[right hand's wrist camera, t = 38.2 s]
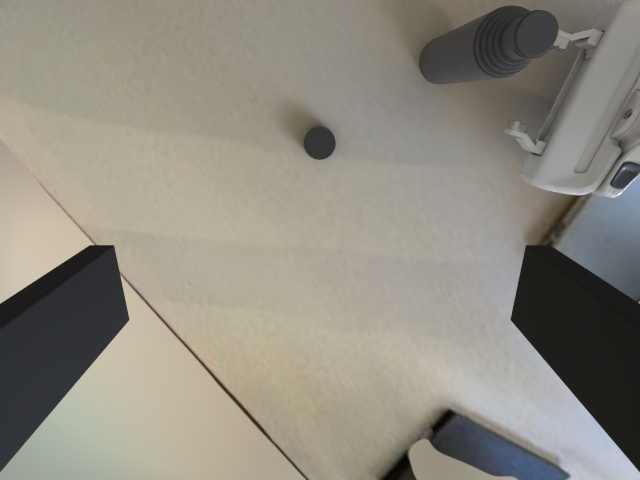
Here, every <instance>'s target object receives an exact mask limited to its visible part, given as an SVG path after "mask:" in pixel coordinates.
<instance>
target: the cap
mask: <svg viewBox="0 0 640 480" xmlns="http://www.w3.org/2000/svg"><path fill="white" fill-rule="evenodd" d="M304 147H305V150H306V152H307V153H308V155H309V156H311V157H312V158H314V159H319V160H321V159H325V158H327V157H329V156H330V155H331V154H332V153H333V151H334V149H335V138H334V136H333V134H332V132H331V131H330V130H329V129H327V128H325V127H315V128H312V129H311V130H310V131H309V132H308V133H307V135H306V137H305V140H304Z"/></svg>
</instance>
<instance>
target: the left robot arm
mask: <svg viewBox="0 0 640 480" xmlns="http://www.w3.org/2000/svg"><path fill="white" fill-rule="evenodd" d="M573 40H577V41H576V43H575V46H577V47H580V48H581V50H580V52H579V54H578V56H577V58H576V61H575V63H574V65H573V67H572V69H571V71H570V73H569V75H568V77H567V79H566V81H565V83H564V85H563V87H562V89H561V91H560V93H559V95H558V97H557V99H556V101H555V103H554V105H553V107H552V109H551V111H550V113H549V115H548V117H547V119H546V121H545V123H544V125H543V127H542V129H541V131H540V133H539V135H538V137H537V139H536V140H534V139H530V138H529V136H528V135H527V134H526V130H527V128H528V125H526V124H524V123H520V122H518V121H514V120H508V122H507V124H506V126H505V128H504V130H503V132H504V133H507V134H510V135H512V136H515V139H516V140H517V141H518V143H519V144H520V146H521V147H522V149H523V150H526V151H529V152H530V153H529V155H528V157H527V159H526V161H525V163H524V165H523V167H522V169H521V171H520V176H521V178H522V180H523V181H524V182H525V183H527V184H529V185H532V186H535V187H538V188H541V189H544V190H548V191H553V192H557V193H563V194H570V195H585V194H589V193H592V194H595V195H599V196H604V197H610V198H614V197H617V196H618V195H620V194H621V193H622V192H623V191H624V190H625V189H626V188H627V187H628V186H629V185H630V184H631V183H632V182H633V181H634V180H635V179H636V178H637V177H638V176H640V0H618V1H616V2H613V3H611V4H609V5H607V6H605V7H603V8H602V9H601V10H600V12H599V14H598V16H597V18H596V20H595V22H594V24H593V26H592V28H591V29H590V30H585V31H581V32H577V33H573V34H569V33H567V32H564V31H561V30H558V35H557V38H556V41H555V43H554V44H553V46H552V47H551V48H552V49H551V50H554V51H559V50H564V49H566V47H567V45H568V43H569V41H573ZM638 303H639V304H640V301H639V302H638Z"/></svg>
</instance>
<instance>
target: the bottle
mask: <svg viewBox="0 0 640 480" xmlns="http://www.w3.org/2000/svg"><path fill="white" fill-rule="evenodd" d="M557 35H558V23H557V20H556V18H555V17H554V16H553V15H552V14H551V13H549V12H547V11H542V10H535V11H532V12H530V11H529V10H527V9H525V8H523V7H519V6H504V7H501V8H498V9H496V10H494V11H492V12H490V13H488V14H486V15H484V16H482V17H479V18H477V19H475V20H473V21H471V22H469V23H467V24H465V25H463V26H461V27H459V28H457V29H455V30H453V31H451V32H449V33H447V34H445V35H443V36H440V37H438V38H436V39H434V40H433V41H431V42H430V43H428V44H427V45H426V47H425V48H424V50H423V51H422V54H421V57H420V69H421V72H422V74H423V76H424V77H425V78H426V79H427V80H428V81H429V82H431V83H434V84H445V83H455V82H466V81H477V80H487V79H498V78H506V77H510V76H513V75H515V74H517V73H518V72H520V71H521V70H523V69H524V68H525V67H526V66H527V65H528V64H529V63H530V62H531V61H532V59H533V58H537V57H541V56H543V55H544V54H546V53H548V52H549V51H550V50H551V49H552V48H551V47H552V46H553V44H554V43H555V41H556V38H557Z"/></svg>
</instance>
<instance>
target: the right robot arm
mask: <svg viewBox="0 0 640 480" xmlns="http://www.w3.org/2000/svg"><path fill="white" fill-rule="evenodd" d="M128 321H129V316H128V311H127V306H126V301H125V296H124V292H123V287H122V282H121V277H120V272H119V267H118V263H117V258H116V253H115V248H114V245H90V246H88V247H87V248H85V249H84V250H82V251H81V252H79V253H78V254H76V255H74V256H73V257H71V258H70V259H68V260H67V261H65V262H64V263H62V264H61V265H59V266H58V267H56V268H55V269H53V270H51V271H50V272H48V273H47V274H45V275H44V276H42V277H41V278H39V279H38V280H36V281H35V282H33V283H32V284H30V285H28V286H27V287H25V288H24V289H22V290H21V291H19V292H18V293H16V294H15V295H13V296H12V297H10V298H9V299H7V300H6V301H4V302H2V303H1V304H0V472H1V470H2V469H3V468H4V467H5V466H6V465H7V463H8V462H9V461H10V460H11V459H12V458H13V456H14V455H15V454H16V453H17V452H18V450H19V449H20V448H21V447H22V446H23V445H24V443H25V442H26V441H27V440H28V439H29V438H30V436H31V435H32V434H33V433H34V432H35V430H36V429H37V428H38V427H39V426H40V425H41V423H42V422H43V421H44V420H45V419H46V417H47V416H48V415H49V414H50V413H51V412H52V410H53V409H54V408H55V407H56V406H57V404H58V403H59V402H60V401H61V400H62V399H63V397H64V396H65V395H66V394H67V393H68V392H69V390H70V389H71V388H72V387H73V386H74V384H75V383H76V382H77V381H78V380H79V379H80V377H81V376H82V375H83V374H84V373H85V371H86V370H87V369H88V368H89V367H90V366H91V364H92V363H93V362H94V361H95V360H96V359H97V357H98V356H99V355H100V354H101V353H102V351H103V350H104V349H105V348H106V347H107V346H108V344H109V343H110V342H111V341H112V340H113V339H114V337H115V336H116V335H117V334H118V333H119V331H120V330H121V329H122V328H123V327H124V326H125V324H126V323H127V322H128ZM511 321H512V322H513V323H514V324H515V326H516V327H517V328H518V329H519V330H520V331H521V333H522V334H523V335H524V336H525V337H526V339H527V340H528V341H529V342H530V343H531V344H532V346H533V347H534V348H535V349H536V350H537V351H538V353H539V354H540V355H541V356H542V357H543V359H544V360H545V361H546V362H547V363H548V364H549V366H550V367H551V368H552V369H553V370H554V372H555V373H556V374H557V375H558V376H559V377H560V379H561V380H562V381H563V382H564V383H565V384H566V386H567V387H568V388H569V389H570V390H571V392H572V393H573V394H574V395H575V396H576V397H577V399H578V400H579V401H580V402H581V403H582V405H583V406H584V407H585V408H586V409H587V410H588V412H589V413H590V414H591V415H592V416H593V417H594V419H595V420H596V421H597V422H598V423H599V425H600V426H601V427H602V428H603V429H604V430H605V432H606V433H607V434H608V435H609V436H610V438H611V439H612V440H613V441H614V442H615V443H616V445H617V446H618V447H619V448H620V449H621V450H622V452H623V453H624V454H625V455H626V456H627V458H628V459H629V460H630V461H631V462H632V463H633V465H634V466H635V467H636V468H637V469H638V471H639V472H640V304H639V303H638V302H636V301H635V300H633V299H631V298H630V297H628V296H627V295H625V294H624V293H622V292H621V291H619V290H618V289H616V288H615V287H613V286H612V285H610V284H608V283H607V282H605V281H604V280H602V279H601V278H599V277H598V276H596V275H595V274H593V273H592V272H590V271H589V270H587V269H585V268H584V267H582V266H581V265H579V264H578V263H576V262H575V261H573V260H572V259H570V258H569V257H567V256H566V255H564V254H563V253H561V252H559V251H558V250H556V249H555V248H553V247H552V246H550V245H526V248H525V253H524V258H523V263H522V267H521V272H520V277H519V282H518V287H517V292H516V296H515V301H514V306H513V311H512V316H511Z"/></svg>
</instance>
